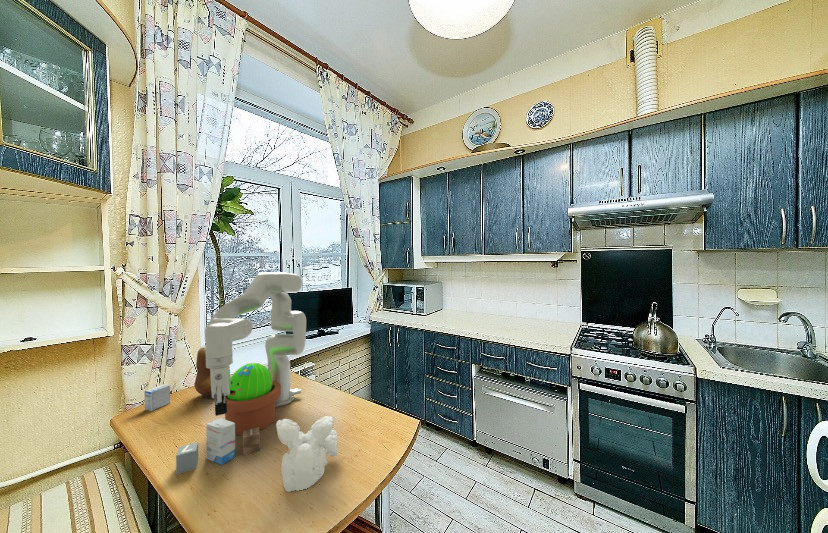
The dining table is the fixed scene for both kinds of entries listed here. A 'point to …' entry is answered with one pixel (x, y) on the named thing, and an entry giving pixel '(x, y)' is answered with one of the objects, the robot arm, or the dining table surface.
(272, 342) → the robot arm
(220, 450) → the ink box
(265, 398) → the potted cactus
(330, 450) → the cauliflower
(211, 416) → the dining table surface
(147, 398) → the medicine box
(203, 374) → the butternut squash
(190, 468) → the slate block
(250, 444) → the walnut block
